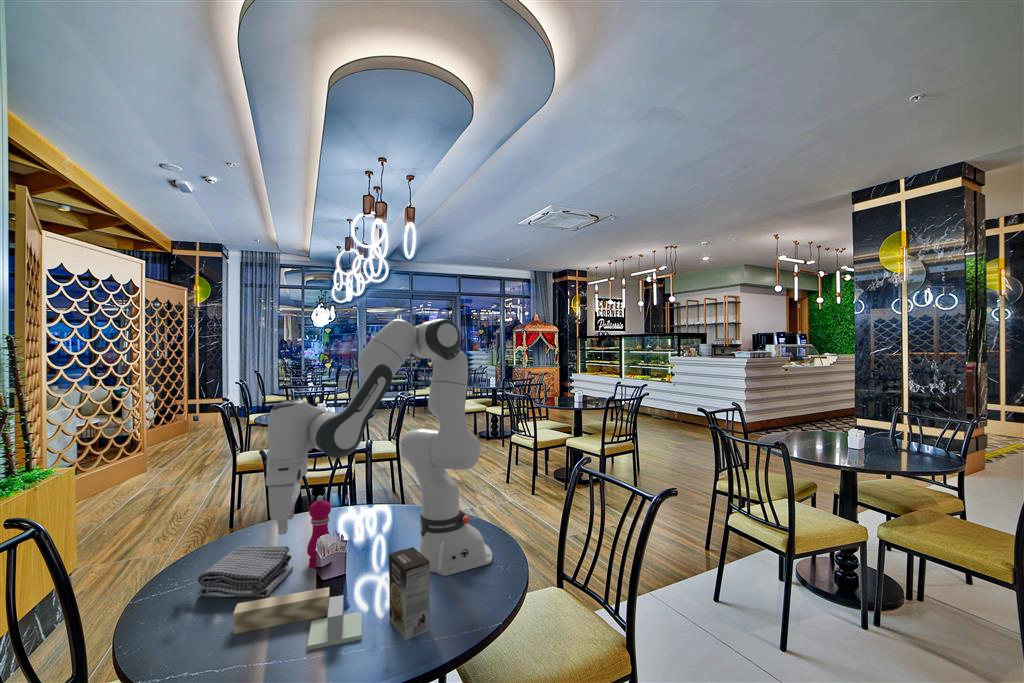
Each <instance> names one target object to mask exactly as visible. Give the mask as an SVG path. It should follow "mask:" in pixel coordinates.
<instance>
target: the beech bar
mask: <svg viewBox="0 0 1024 683" xmlns="http://www.w3.org/2000/svg"><path fill="white" fill-rule="evenodd" d="M330 595H331V594H330V586H328V587H323V588H322V587H321V588H316V589H310V590H305V591H299V592H294V593H289V594H284V595H283V594H282V595H277V596H272V597H265V598H262V599H256V600H251V601H250V600H249V601H245V602H239V603H237V604H236V606H235V609H234V611H233V614H232V615H233V617H232V618H233V619H232V620H233V625H232V626H233V635H235V634H236V635H237V634H241V633H246V632H251V631H256V630H261V629H266V628H271V627H278V626H281V625H286V624H291V623H296V622H302V621H306V620H307V621H308V620H311V619H312V620H313V619H317V618H321V617H328V609H329V600H330V597H331V596H330Z"/></svg>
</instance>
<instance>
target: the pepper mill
mask: <svg viewBox="0 0 1024 683" xmlns="http://www.w3.org/2000/svg"><path fill="white" fill-rule="evenodd" d="M331 511H332V505H331V504H330V502H329V501H328V500H326V499H325V500H324V496H322V495H318V496H317V497H316V501H314V502H312V503H311V504H310V507H309V510H308V514H309V516H310V517H311V518H310V521H311V522H310V524H311V525H312V533H311V536H310V539H309V542H308V543H307V550H306V553H307V555H308V557H309V558H308V566H309V567H310V568H313V569H317V568H316V551H315V549H316V542H317V539H318V538H319V537H320V536H322V535H325V534H330V532H329V526H328V524H329V522H330V513H331Z"/></svg>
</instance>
